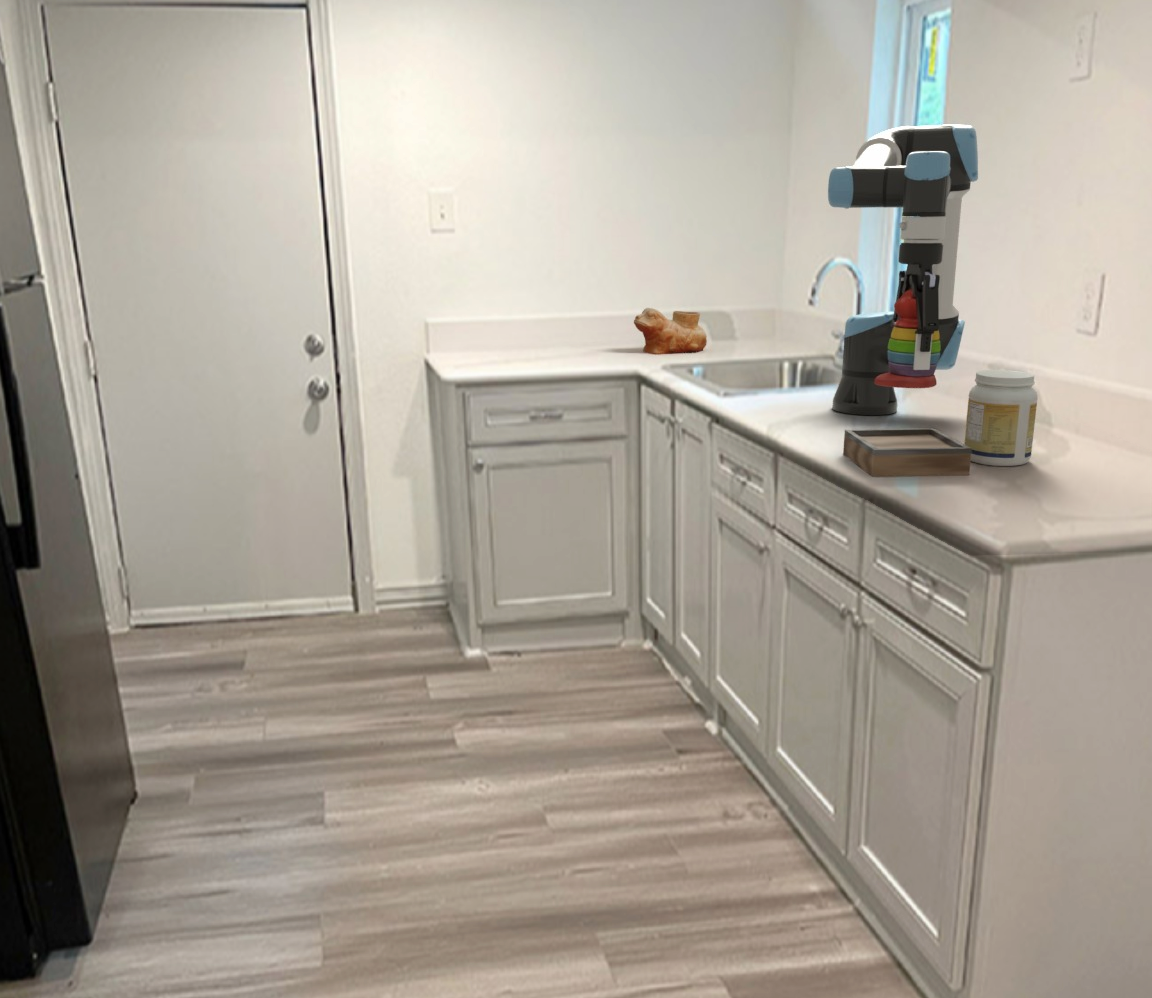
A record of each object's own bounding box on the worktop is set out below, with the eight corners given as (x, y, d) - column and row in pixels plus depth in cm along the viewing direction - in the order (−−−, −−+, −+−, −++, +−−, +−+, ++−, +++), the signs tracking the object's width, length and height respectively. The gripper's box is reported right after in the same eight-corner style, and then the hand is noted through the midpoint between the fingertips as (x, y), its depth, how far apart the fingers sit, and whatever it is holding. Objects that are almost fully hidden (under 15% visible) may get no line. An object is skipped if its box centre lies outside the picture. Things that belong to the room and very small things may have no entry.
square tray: (843, 454, 208) (844, 429, 207) (931, 452, 209) (934, 428, 208) (872, 476, 191) (874, 449, 190) (969, 474, 192) (971, 448, 191)
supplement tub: (999, 451, 210) (1008, 367, 206) (1044, 464, 200) (1055, 375, 195) (949, 456, 206) (957, 370, 202) (992, 470, 195) (1002, 379, 191)
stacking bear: (899, 378, 203) (906, 284, 199) (948, 384, 196) (957, 287, 192) (869, 384, 196) (876, 288, 191) (919, 391, 189) (928, 291, 184)
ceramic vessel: (627, 351, 360) (627, 306, 356) (697, 347, 368) (698, 304, 364) (641, 356, 348) (642, 310, 344) (713, 352, 355) (715, 307, 351)
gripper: (881, 239, 199) (872, 357, 205) (923, 243, 178) (912, 374, 184) (919, 239, 200) (910, 357, 206) (966, 243, 179) (954, 374, 185)
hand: (911, 365), depth 195 cm, fingers closed on stacking bear, 9 cm apart
